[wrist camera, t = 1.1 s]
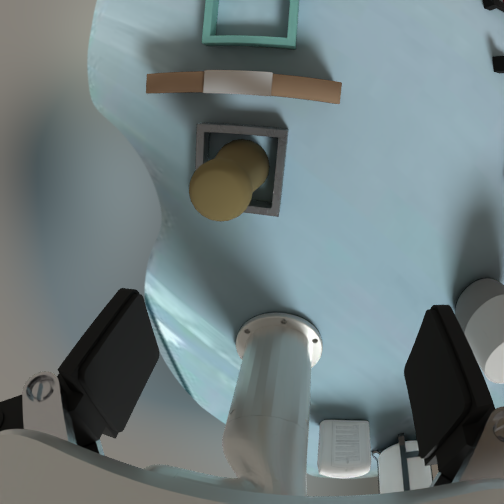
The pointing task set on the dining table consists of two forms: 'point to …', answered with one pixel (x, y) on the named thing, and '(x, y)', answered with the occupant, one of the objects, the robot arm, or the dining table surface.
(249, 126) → the collar
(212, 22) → the collar
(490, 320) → the smart speaker
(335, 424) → the photo printer
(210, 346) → the dining table surface
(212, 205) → the cork
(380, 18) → the dining table surface
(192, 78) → the door edge
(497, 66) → the red board with handle
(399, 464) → the coffee press
